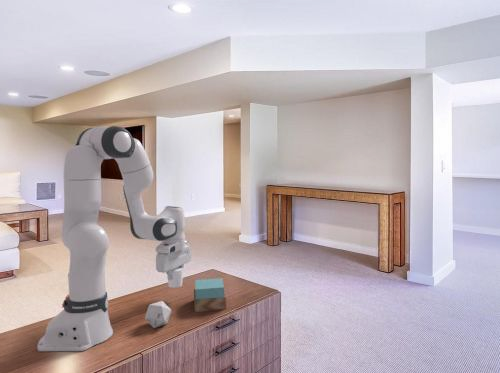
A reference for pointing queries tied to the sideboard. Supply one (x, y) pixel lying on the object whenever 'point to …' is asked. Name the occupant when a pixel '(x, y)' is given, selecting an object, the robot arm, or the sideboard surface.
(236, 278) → the sideboard surface
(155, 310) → the die
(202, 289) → the tower top block
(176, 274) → the white rimmed cylinder
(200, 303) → the tower base block
